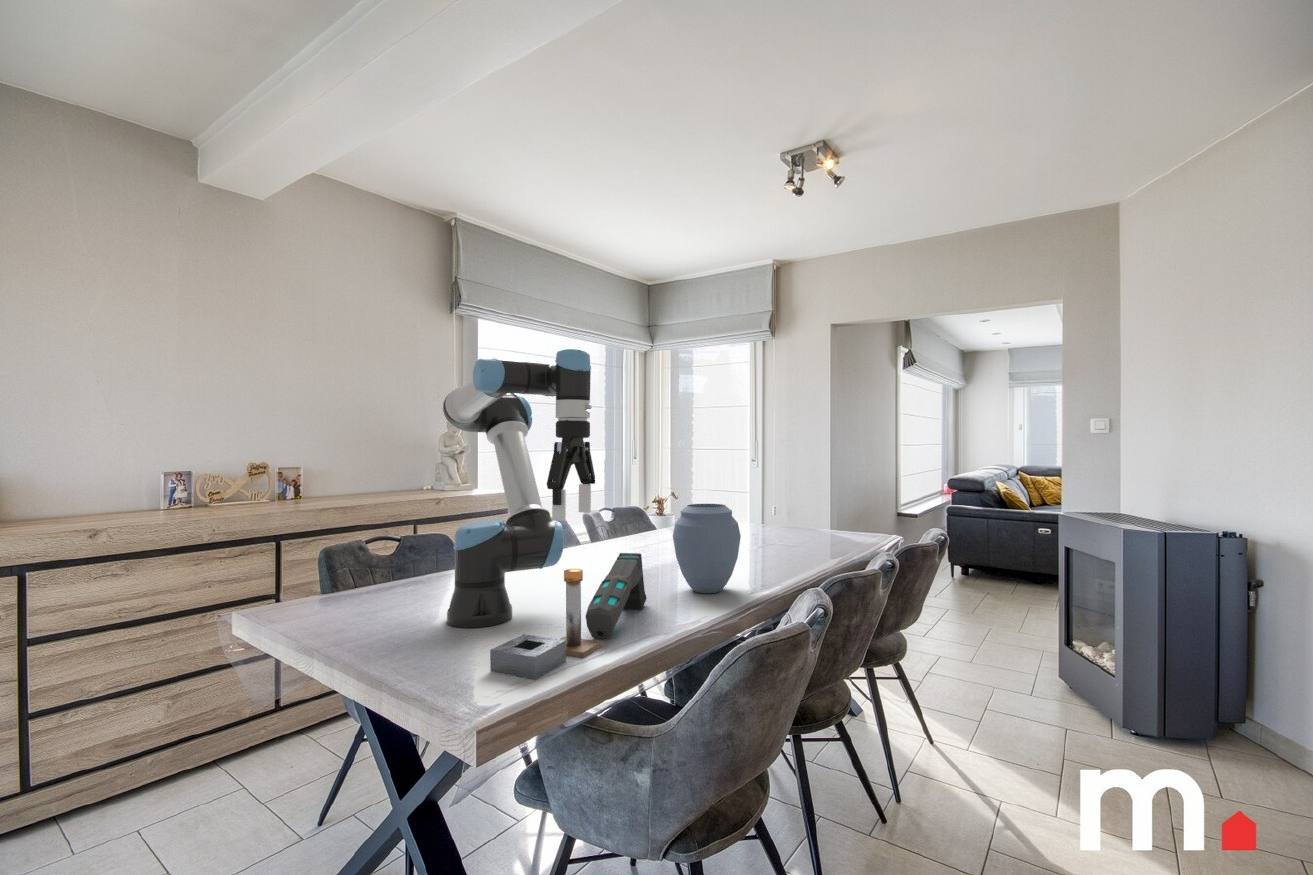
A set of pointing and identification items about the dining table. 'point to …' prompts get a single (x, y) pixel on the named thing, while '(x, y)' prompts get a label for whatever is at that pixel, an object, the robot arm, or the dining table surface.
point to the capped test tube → (573, 606)
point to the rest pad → (582, 648)
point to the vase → (706, 546)
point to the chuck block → (528, 656)
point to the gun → (616, 595)
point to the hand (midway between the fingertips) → (572, 516)
